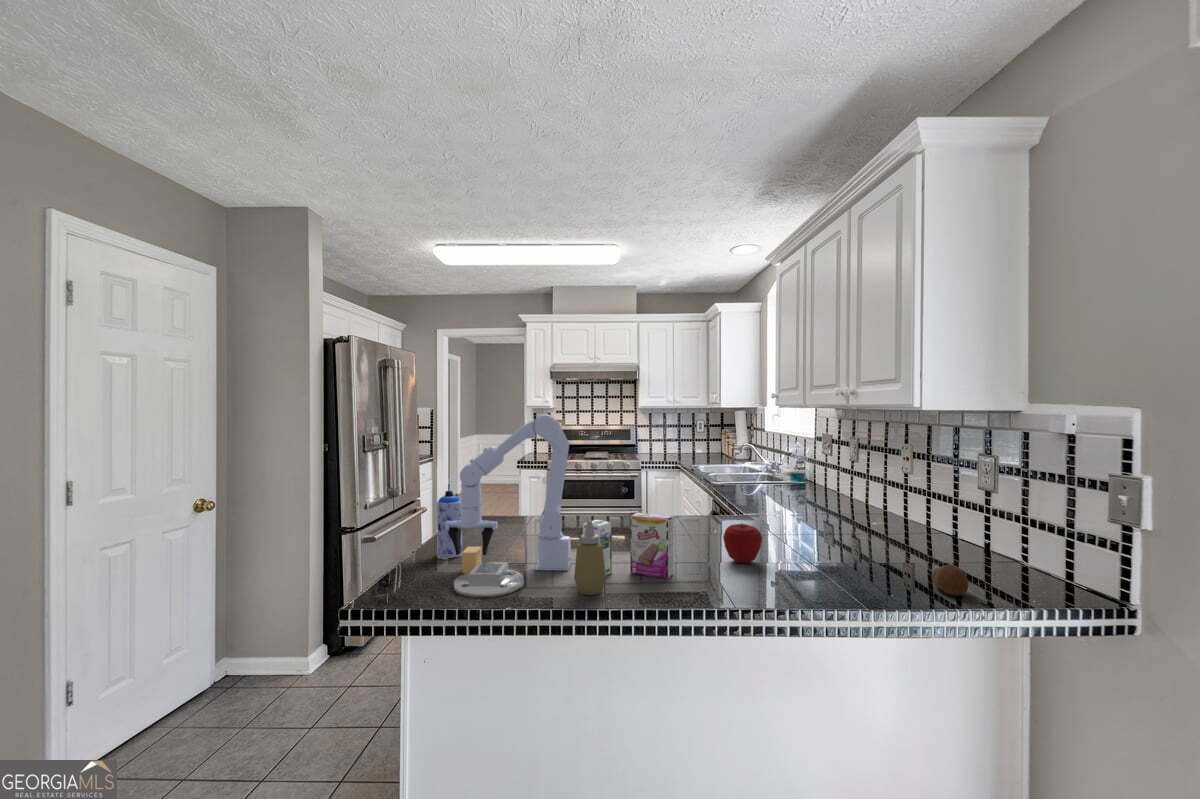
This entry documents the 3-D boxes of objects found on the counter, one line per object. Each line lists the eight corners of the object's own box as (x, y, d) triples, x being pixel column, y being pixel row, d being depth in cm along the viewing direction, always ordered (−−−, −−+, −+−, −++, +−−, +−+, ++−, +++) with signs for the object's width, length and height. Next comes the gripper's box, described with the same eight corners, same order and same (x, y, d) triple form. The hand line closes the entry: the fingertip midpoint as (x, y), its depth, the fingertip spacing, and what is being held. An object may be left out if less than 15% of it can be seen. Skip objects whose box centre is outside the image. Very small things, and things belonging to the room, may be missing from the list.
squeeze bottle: (582, 600, 140) (582, 526, 140) (569, 589, 147) (568, 519, 147) (611, 594, 144) (611, 522, 143) (597, 584, 151) (596, 516, 150)
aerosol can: (435, 553, 180) (434, 490, 180) (460, 550, 183) (459, 488, 183) (439, 560, 173) (438, 494, 172) (465, 557, 176) (464, 492, 176)
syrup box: (599, 578, 155) (599, 525, 155) (583, 574, 159) (582, 522, 159) (612, 573, 160) (612, 521, 160) (595, 569, 163) (595, 518, 163)
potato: (949, 584, 149) (949, 557, 148) (979, 599, 138) (979, 570, 138) (923, 585, 148) (923, 558, 148) (951, 600, 138) (951, 571, 138)
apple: (720, 565, 166) (720, 525, 166) (726, 555, 176) (726, 517, 176) (759, 569, 162) (759, 528, 162) (764, 559, 172) (764, 520, 171)
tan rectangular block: (481, 567, 166) (481, 546, 166) (476, 574, 160) (475, 552, 160) (468, 567, 167) (468, 546, 166) (462, 573, 161) (461, 552, 160)
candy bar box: (629, 574, 159) (629, 515, 158) (636, 569, 163) (635, 512, 163) (668, 580, 154) (668, 519, 153) (674, 574, 158) (673, 515, 158)
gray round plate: (529, 574, 159) (529, 558, 159) (516, 598, 142) (515, 580, 141) (465, 573, 161) (465, 557, 160) (444, 597, 143) (444, 579, 142)
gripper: (441, 509, 160) (442, 557, 160) (493, 509, 159) (493, 558, 159) (449, 504, 167) (450, 550, 167) (499, 504, 166) (499, 551, 166)
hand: (471, 554), depth 163 cm, fingers open, 7 cm apart
